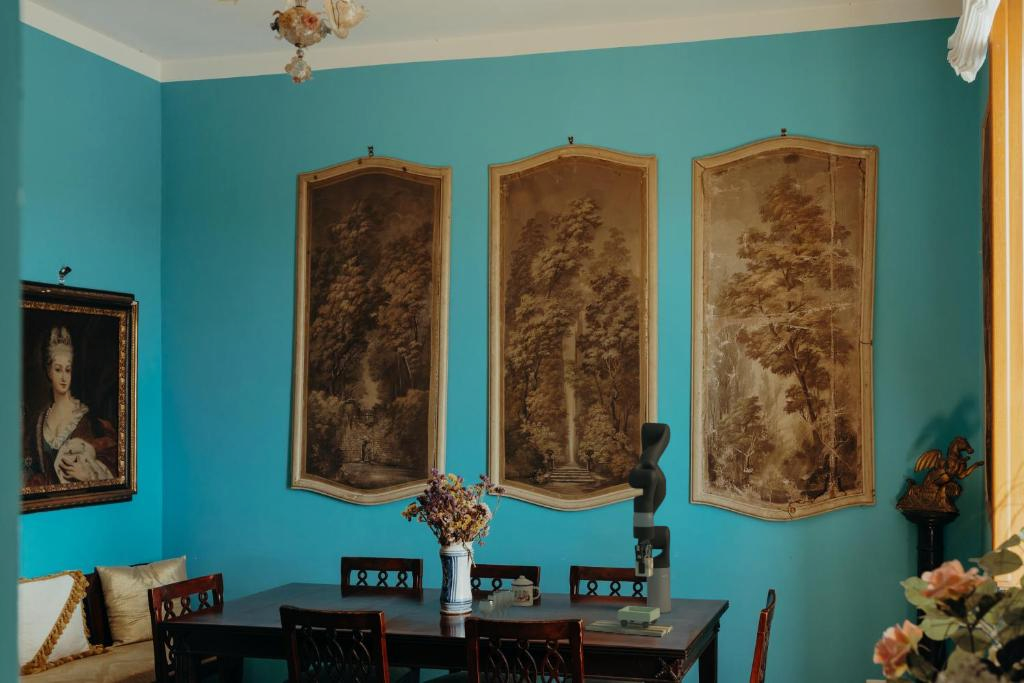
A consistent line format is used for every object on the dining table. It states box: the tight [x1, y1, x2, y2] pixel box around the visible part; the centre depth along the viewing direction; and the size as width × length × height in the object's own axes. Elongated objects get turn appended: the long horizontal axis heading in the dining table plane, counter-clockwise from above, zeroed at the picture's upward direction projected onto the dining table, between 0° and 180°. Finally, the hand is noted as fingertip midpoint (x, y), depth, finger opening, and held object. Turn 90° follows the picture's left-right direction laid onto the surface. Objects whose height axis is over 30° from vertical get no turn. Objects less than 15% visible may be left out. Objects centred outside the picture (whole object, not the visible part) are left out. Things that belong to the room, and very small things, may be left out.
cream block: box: [634, 558, 653, 577], centre depth 383 cm, size 5×5×6 cm
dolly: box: [617, 605, 661, 628], centre depth 380 cm, size 11×12×6 cm
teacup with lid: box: [510, 575, 541, 607], centre depth 435 cm, size 12×9×12 cm
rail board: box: [585, 619, 674, 637], centre depth 381 cm, size 14×28×2 cm, turn 64°
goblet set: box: [478, 588, 515, 620], centre depth 385 cm, size 28×6×13 cm, turn 161°
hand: (644, 572), depth 383 cm, fingers closed on cream block, 5 cm apart
